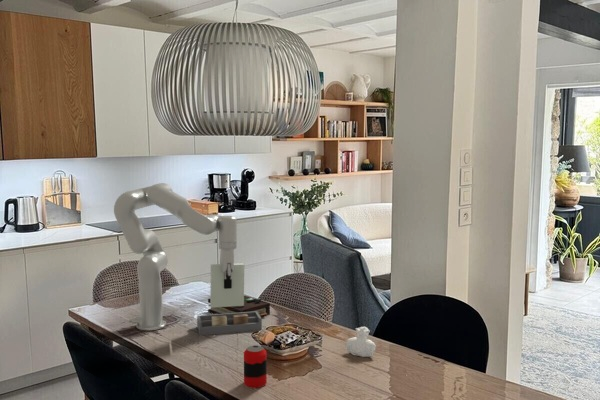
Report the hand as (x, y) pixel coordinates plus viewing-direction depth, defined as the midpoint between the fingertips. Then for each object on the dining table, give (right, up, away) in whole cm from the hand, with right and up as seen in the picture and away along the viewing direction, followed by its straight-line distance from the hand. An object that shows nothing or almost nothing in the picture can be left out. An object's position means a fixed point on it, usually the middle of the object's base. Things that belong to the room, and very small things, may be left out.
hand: (227, 287), depth 241 cm
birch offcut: (-3, -18, -4) cm, 18 cm away
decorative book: (+2, -17, +23) cm, 28 cm away
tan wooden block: (+6, -18, -2) cm, 19 cm away
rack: (+1, -19, -1) cm, 19 cm away
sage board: (0, -8, +1) cm, 8 cm away
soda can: (+16, -24, -53) cm, 60 cm away
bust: (+54, -22, -26) cm, 64 cm away
